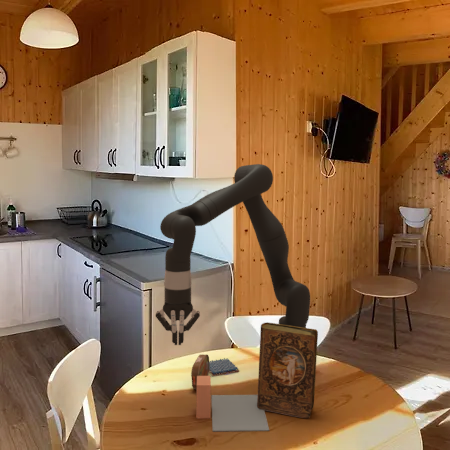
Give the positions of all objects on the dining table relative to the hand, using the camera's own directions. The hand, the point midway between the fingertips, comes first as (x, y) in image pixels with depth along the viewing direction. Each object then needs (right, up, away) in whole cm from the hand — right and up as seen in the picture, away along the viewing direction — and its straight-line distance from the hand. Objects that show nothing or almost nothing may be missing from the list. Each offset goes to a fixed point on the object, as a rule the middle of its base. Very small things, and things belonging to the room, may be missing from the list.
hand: (177, 344), depth 138 cm
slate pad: (+17, -21, +4) cm, 27 cm away
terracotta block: (+7, -21, +3) cm, 22 cm away
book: (+31, -21, +5) cm, 38 cm away
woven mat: (+12, -18, +33) cm, 39 cm away
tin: (+5, -19, +22) cm, 29 cm away
